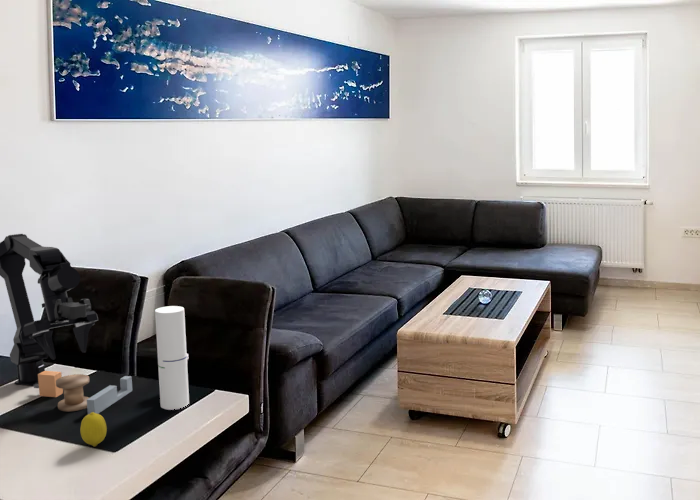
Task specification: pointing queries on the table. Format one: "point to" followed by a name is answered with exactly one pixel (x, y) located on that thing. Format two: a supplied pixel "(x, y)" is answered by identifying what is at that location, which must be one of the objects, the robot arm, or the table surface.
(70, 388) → the bobbin
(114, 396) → the notch board
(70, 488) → the table surface
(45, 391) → the orange block
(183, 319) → the cylindrical container
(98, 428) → the lemon
